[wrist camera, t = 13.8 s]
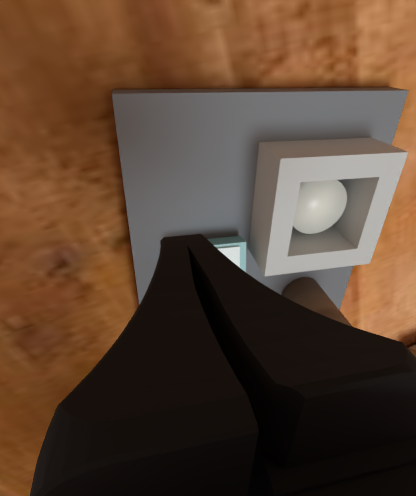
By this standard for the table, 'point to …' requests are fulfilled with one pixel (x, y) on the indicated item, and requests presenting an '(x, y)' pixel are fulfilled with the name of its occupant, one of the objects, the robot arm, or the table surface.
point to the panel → (259, 174)
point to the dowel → (313, 298)
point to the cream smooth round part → (319, 205)
